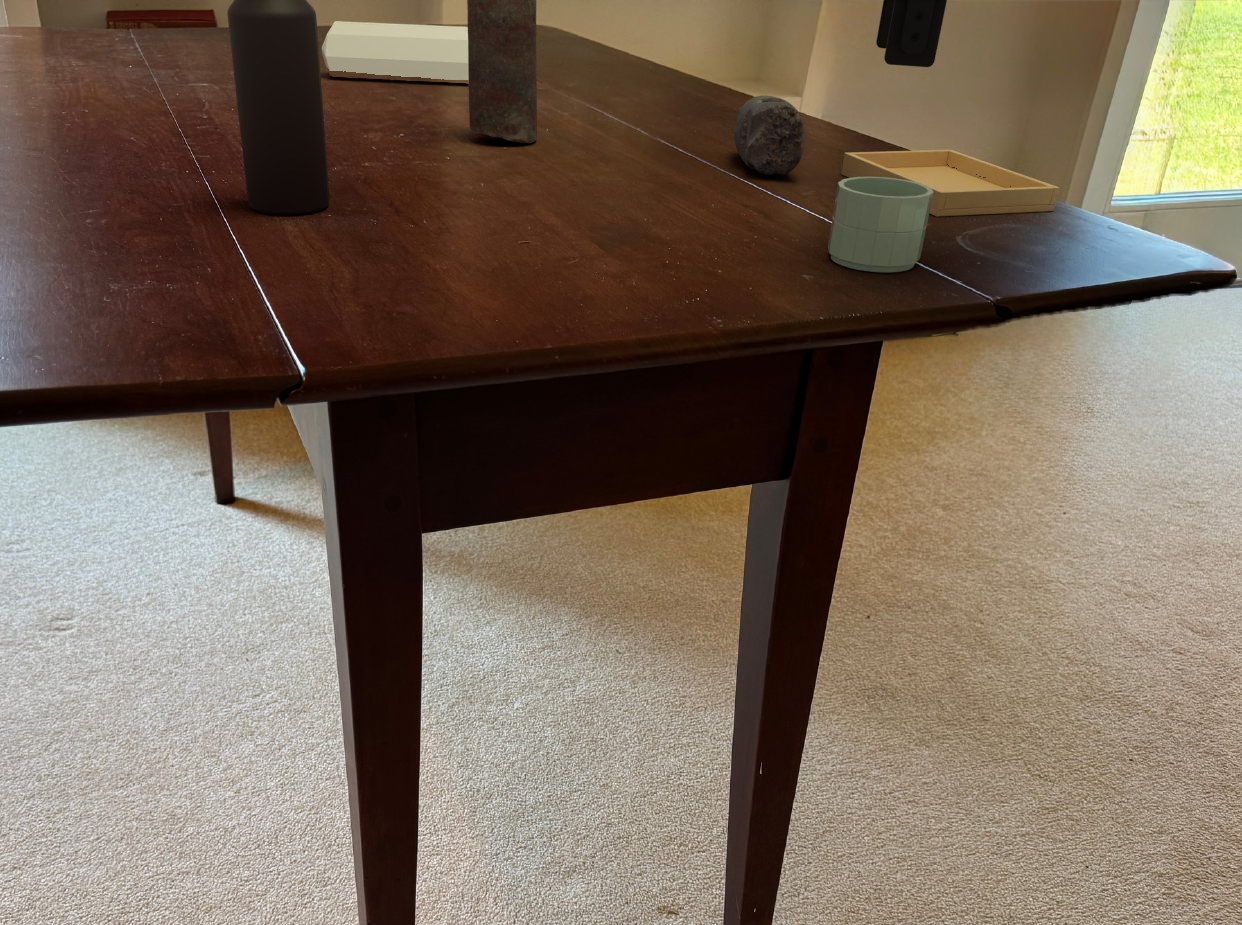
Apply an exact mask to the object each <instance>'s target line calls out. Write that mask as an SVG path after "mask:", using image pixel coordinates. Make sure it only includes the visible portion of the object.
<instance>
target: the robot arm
mask: <svg viewBox="0 0 1242 925" xmlns="http://www.w3.org/2000/svg"><path fill="white" fill-rule="evenodd" d="M947 2H948V0H883V1H882V8H881V13H880V19H879V25H878V29H877V36H876V42H875V44H876V46H877V48H878V49H879V48H880V49H885V52H884V58H883V59H884V62H885V64H887V65H888V66H889V65H890V66H902V67H903V66H904V67H919V68H931V67H932V66H933V65H934V63H935V62H936V56H937V51H938V46H939V41H940V36H941V32H942V27H943V21H944V17H945V11H946V6H947Z"/></svg>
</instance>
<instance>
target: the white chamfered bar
mask: <svg viewBox="0 0 1242 925" xmlns="http://www.w3.org/2000/svg"><path fill="white" fill-rule="evenodd" d="M321 54H322V58H323V61H324V65H325V67H327V68H328V69H329V71H343V72H344V71H346V72H356V73H367V74H375V75H391V76H401V77H421V78H431V79H441V80H442V79H444V80H469V76H468V26H455V25H435V24H434V25H433V24H432V25H431V24H412V23H411V24H410V23H409V24H407V23H385V22H368V21H367V22H366V21H365V22H363V21H344V20H343V21H342V20H341V21H339V20H335V21H334V22H333V23H332V26H331V27H330V28H329V30H328V32H327V33H326V36H325V38H324V41H323V43H322V46H321ZM327 68H326V69H327Z"/></svg>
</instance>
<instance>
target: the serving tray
mask: <svg viewBox="0 0 1242 925" xmlns="http://www.w3.org/2000/svg"><path fill="white" fill-rule="evenodd" d="M947 164H948V165H949V166H948V165H947ZM952 167H955V168H952ZM956 168H957V169H956ZM976 174H977V175H976ZM841 175H842V176H844V177H847V178H853V177H887V178H895V179H903V180H908V181H912V182H917V183H921V184H923V185H926V186H928V187H930V188H931V189H932V190H933V197H932V202H931V207H930V212H929V215H932V216H934V217H938V218H939V217H955V216H957V217H959V216H977V215H978V216H979V215H997V214H1020V213H1021V214H1023V213H1041V212H1053V211H1054V210H1055V207H1056V204H1057V200H1058V196H1059V192H1060V186H1056V185H1054V184H1051V183H1048V182H1044V181H1042V180H1039V179H1036V178H1034V177H1031V176H1027V175H1025V174H1022V173H1019V172H1016V171H1013V170H1010V169H1008V168H1005V167H1002V166H999V165H996V164H993V163H990V162H987V161H984V160H982V159H979V158H976V157H974V156H971V155H967V154H964V153H961V152H959V151H956V150H953V149H925V150H924V149H923V150H922V149H921V150H894V151H893V150H891V151H890V150H889V151H861V152H860V151H859V152H844V154H843V161H842V167H841ZM979 176H981V177H979ZM983 177H986V178H983ZM1010 186H1011V187H1010Z"/></svg>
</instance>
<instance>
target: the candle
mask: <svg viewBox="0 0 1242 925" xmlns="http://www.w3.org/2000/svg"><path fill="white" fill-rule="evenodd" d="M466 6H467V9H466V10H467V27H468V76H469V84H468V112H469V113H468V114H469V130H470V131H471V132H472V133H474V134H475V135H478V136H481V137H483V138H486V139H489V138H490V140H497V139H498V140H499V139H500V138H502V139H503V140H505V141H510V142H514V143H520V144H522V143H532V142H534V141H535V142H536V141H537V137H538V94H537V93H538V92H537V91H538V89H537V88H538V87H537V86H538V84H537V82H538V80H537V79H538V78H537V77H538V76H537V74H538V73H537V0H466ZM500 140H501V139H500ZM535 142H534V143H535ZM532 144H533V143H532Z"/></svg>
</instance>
